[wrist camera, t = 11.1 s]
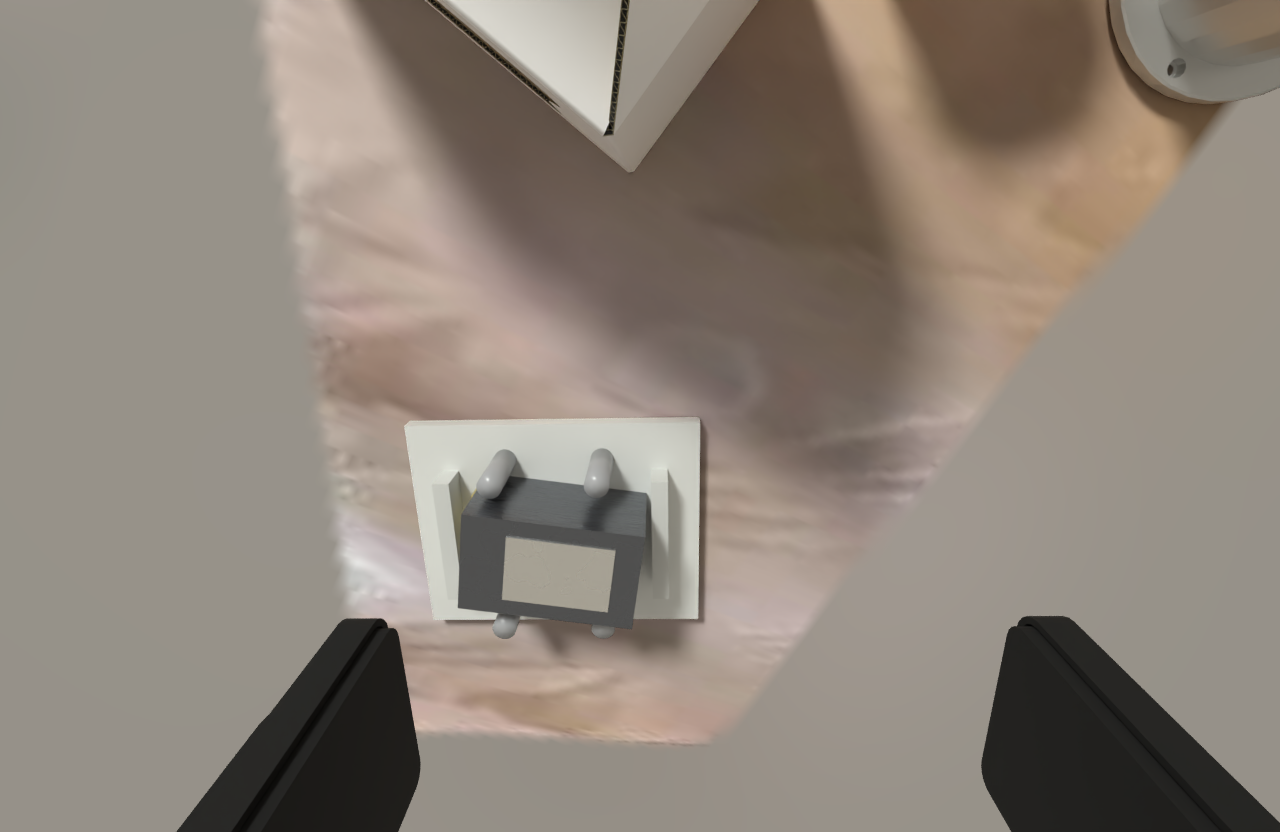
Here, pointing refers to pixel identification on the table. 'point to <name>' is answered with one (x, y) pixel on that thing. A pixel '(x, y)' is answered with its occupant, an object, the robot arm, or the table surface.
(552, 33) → the gable box
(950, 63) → the table surface
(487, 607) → the drive
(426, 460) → the peg fixture base
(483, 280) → the table surface
